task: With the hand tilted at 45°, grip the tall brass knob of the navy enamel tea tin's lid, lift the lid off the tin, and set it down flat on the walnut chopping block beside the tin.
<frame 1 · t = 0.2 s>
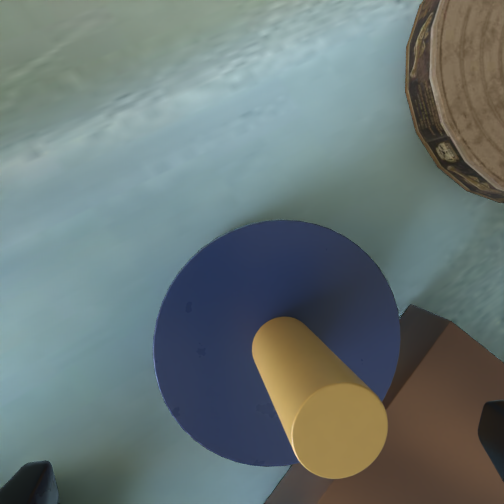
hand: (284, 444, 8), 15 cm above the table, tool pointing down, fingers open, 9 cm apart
lid: (280, 343, 18), point 5 cm above the table, touching tin
block: (404, 464, 26), on the table
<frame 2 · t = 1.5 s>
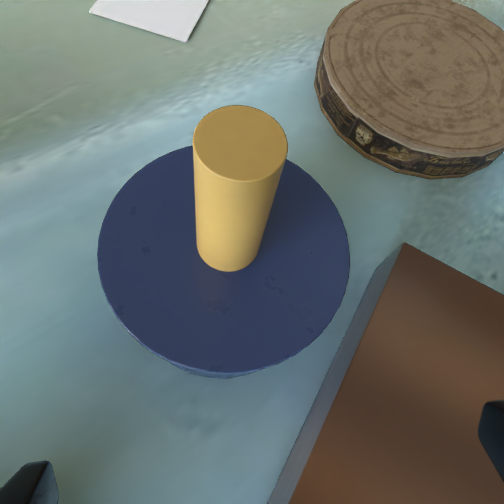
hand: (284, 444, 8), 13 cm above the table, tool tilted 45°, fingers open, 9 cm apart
lid: (227, 247, 19), point 5 cm above the table, touching tin
block: (428, 459, 21), on the table
brown flat disc: (411, 96, 32), on the table
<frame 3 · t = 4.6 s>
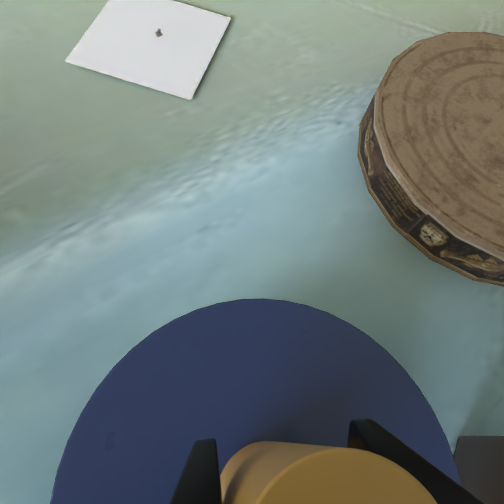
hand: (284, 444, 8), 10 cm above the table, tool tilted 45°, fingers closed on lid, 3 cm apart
lid: (264, 495, 11), point 6 cm above the table, touching gripper, tin
coaster: (153, 41, 26), on the table
brown flat disc: (481, 167, 25), on the table
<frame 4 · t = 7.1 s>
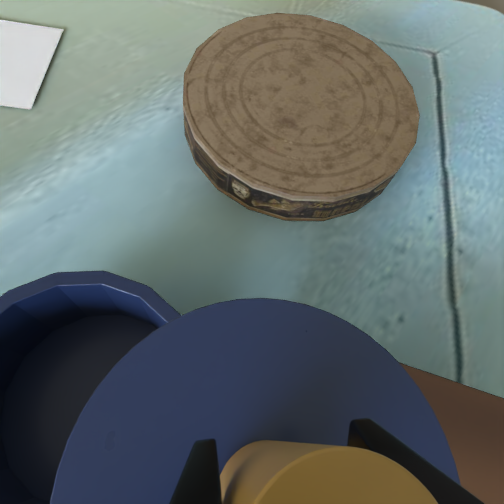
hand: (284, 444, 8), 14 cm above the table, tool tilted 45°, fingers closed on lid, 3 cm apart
lid: (264, 494, 11), point 10 cm above the table, touching gripper
tin: (101, 403, 21), on the table
brown flat disc: (293, 127, 30), on the table
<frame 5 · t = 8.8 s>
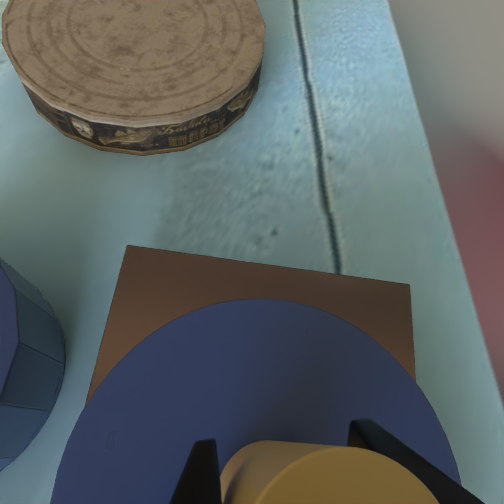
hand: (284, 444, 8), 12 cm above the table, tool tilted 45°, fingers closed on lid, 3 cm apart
lid: (265, 494, 11), point 8 cm above the table, touching gripper
block: (242, 469, 18), on the table
brown flat disc: (146, 63, 28), on the table
when the fingers open (9 cm above the table, at t = 9.9 s): lid stays where it is, resting on block.
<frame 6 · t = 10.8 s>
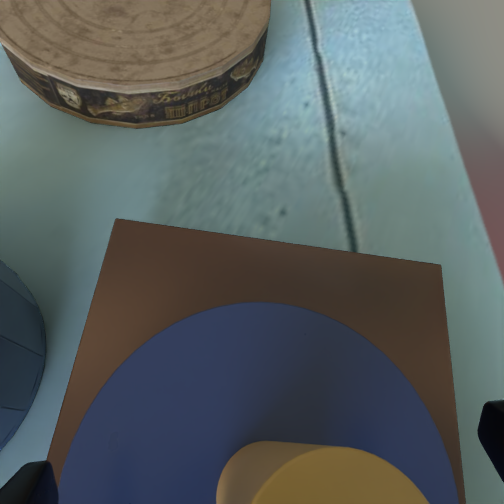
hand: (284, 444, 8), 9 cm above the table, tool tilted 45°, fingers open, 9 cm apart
lid: (264, 494, 12), point 5 cm above the table, touching block
block: (248, 478, 16), on the table
brown flat disc: (141, 32, 26), on the table
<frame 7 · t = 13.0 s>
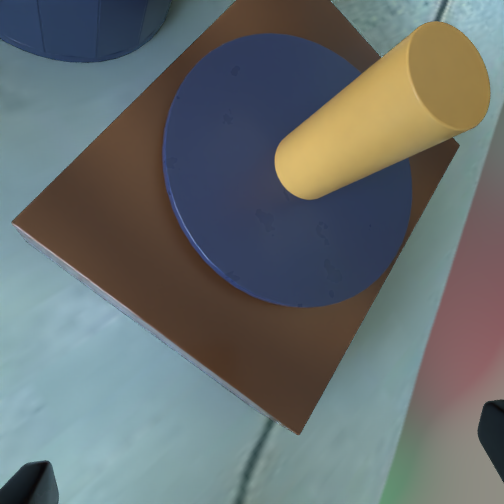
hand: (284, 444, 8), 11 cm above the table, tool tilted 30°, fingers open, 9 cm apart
lid: (299, 170, 17), point 5 cm above the table, touching block
block: (255, 197, 21), on the table
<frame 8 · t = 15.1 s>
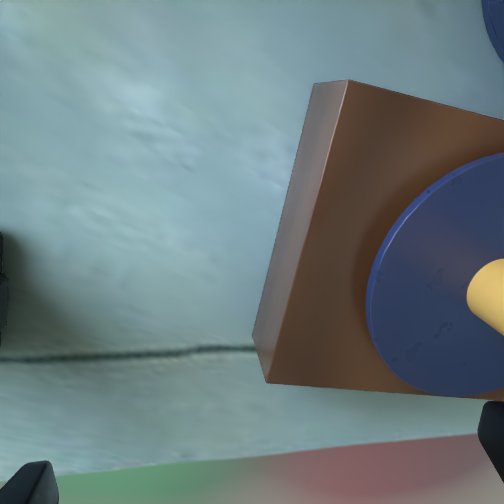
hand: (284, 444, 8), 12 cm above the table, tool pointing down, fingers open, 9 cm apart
lid: (488, 283, 17), point 5 cm above the table, touching block
block: (428, 247, 22), on the table
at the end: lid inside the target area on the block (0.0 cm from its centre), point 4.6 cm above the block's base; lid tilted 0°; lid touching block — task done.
